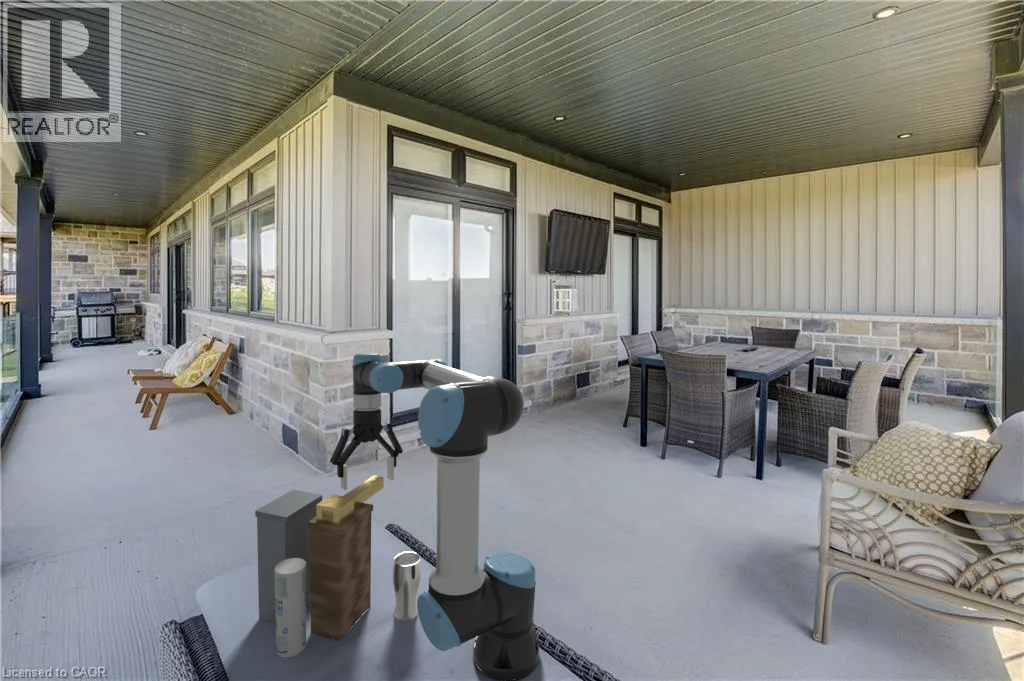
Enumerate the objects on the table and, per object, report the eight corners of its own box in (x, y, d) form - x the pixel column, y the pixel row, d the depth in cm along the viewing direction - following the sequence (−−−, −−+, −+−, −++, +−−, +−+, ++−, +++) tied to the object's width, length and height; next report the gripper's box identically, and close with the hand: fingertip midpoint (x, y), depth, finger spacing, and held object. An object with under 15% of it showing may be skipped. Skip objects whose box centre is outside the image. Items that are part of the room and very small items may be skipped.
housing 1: (294, 588, 135) (293, 489, 132) (322, 595, 133) (322, 495, 129) (257, 618, 123) (255, 510, 119) (287, 627, 120) (286, 517, 117)
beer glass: (413, 625, 123) (414, 568, 121) (387, 620, 124) (388, 564, 123) (424, 607, 130) (425, 553, 128) (399, 602, 131) (400, 549, 129)
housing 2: (341, 600, 131) (342, 498, 128) (372, 607, 129) (373, 504, 125) (308, 633, 119) (308, 521, 115) (341, 642, 116) (341, 528, 113)
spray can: (310, 649, 114) (310, 567, 111) (280, 662, 109) (279, 577, 107) (301, 633, 119) (301, 554, 116) (272, 645, 114) (270, 563, 112)
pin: (338, 525, 114) (338, 509, 114) (316, 521, 116) (316, 504, 115) (388, 488, 135) (388, 474, 135) (369, 484, 137) (369, 470, 136)
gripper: (402, 402, 150) (402, 472, 151) (317, 411, 134) (318, 489, 135) (414, 405, 144) (414, 478, 145) (326, 415, 129) (327, 496, 129)
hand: (367, 483), depth 140 cm, fingers open, 13 cm apart
